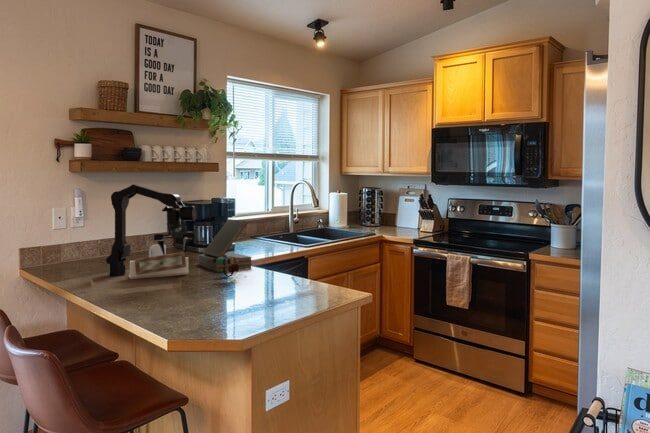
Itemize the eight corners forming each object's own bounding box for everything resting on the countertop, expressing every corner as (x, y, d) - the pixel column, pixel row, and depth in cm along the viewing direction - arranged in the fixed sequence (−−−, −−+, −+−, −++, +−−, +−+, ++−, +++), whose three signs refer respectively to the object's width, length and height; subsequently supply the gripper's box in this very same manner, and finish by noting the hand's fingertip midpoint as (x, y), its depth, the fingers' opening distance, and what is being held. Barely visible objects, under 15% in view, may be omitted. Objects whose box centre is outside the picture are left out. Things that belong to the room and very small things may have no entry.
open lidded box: (198, 266, 255) (198, 219, 254) (232, 263, 267) (232, 218, 266) (216, 272, 237) (216, 222, 235) (251, 268, 248) (251, 220, 247)
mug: (168, 267, 248) (168, 244, 248) (159, 269, 242) (159, 245, 242) (154, 266, 253) (153, 243, 252) (144, 268, 246) (144, 244, 246)
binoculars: (221, 274, 230) (221, 253, 229) (240, 275, 227) (240, 254, 226) (211, 277, 221) (211, 255, 221) (231, 278, 218) (231, 256, 218)
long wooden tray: (130, 279, 215) (130, 261, 214) (128, 277, 220) (128, 259, 220) (188, 274, 228) (188, 257, 228) (185, 272, 233) (185, 256, 233)
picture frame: (137, 275, 214) (135, 259, 213) (136, 274, 215) (134, 259, 215) (186, 267, 225) (184, 252, 224) (185, 266, 227) (183, 252, 226)
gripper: (156, 222, 210) (157, 257, 211) (198, 221, 220) (199, 254, 221) (151, 221, 220) (152, 255, 221) (191, 219, 229) (192, 252, 230)
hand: (174, 254), depth 223 cm, fingers open, 9 cm apart
